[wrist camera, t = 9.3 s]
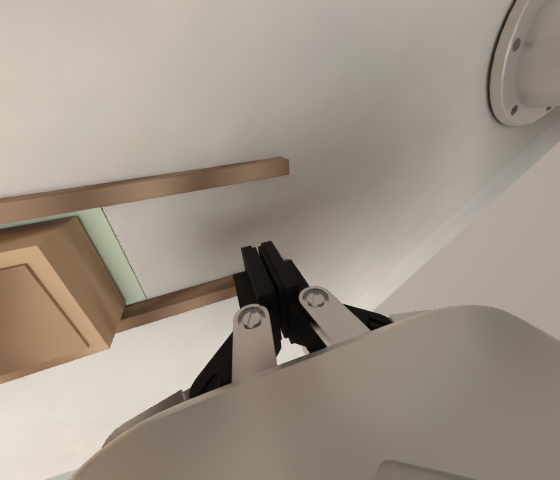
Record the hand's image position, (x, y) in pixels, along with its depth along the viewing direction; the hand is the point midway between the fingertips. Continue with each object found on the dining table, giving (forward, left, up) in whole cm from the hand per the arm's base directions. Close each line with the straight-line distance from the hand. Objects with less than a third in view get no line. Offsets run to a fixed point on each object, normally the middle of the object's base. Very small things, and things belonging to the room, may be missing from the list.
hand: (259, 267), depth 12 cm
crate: (+13, 0, -6) cm, 14 cm away
